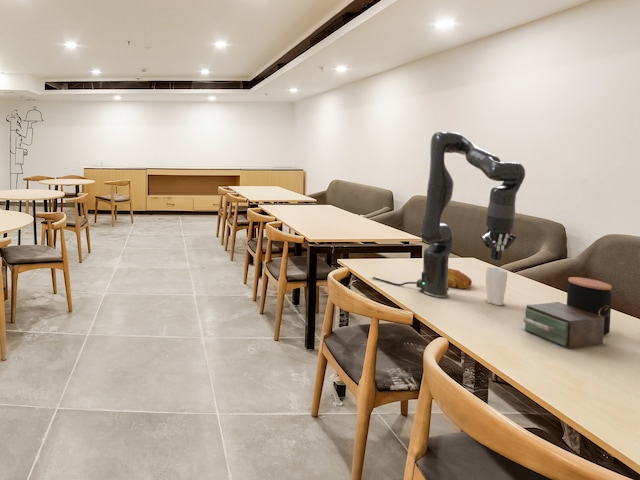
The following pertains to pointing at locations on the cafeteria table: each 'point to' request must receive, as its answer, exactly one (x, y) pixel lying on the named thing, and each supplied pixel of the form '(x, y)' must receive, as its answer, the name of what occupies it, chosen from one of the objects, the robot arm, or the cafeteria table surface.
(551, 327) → the drawer
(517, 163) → the robot arm
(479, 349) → the cafeteria table surface
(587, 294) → the coffee jar
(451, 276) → the croissant
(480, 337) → the cafeteria table surface
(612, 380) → the cafeteria table surface
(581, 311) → the cabinet
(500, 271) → the white cup
